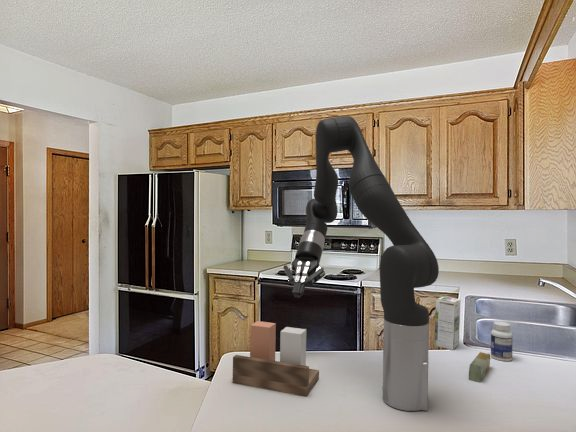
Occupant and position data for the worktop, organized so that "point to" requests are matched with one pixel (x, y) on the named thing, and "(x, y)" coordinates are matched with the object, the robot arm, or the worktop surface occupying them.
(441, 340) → the syrup box
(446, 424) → the worktop surface
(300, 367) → the console
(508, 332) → the pill bottle
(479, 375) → the medication box
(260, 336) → the orange tall block
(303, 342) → the grey rectangular block
